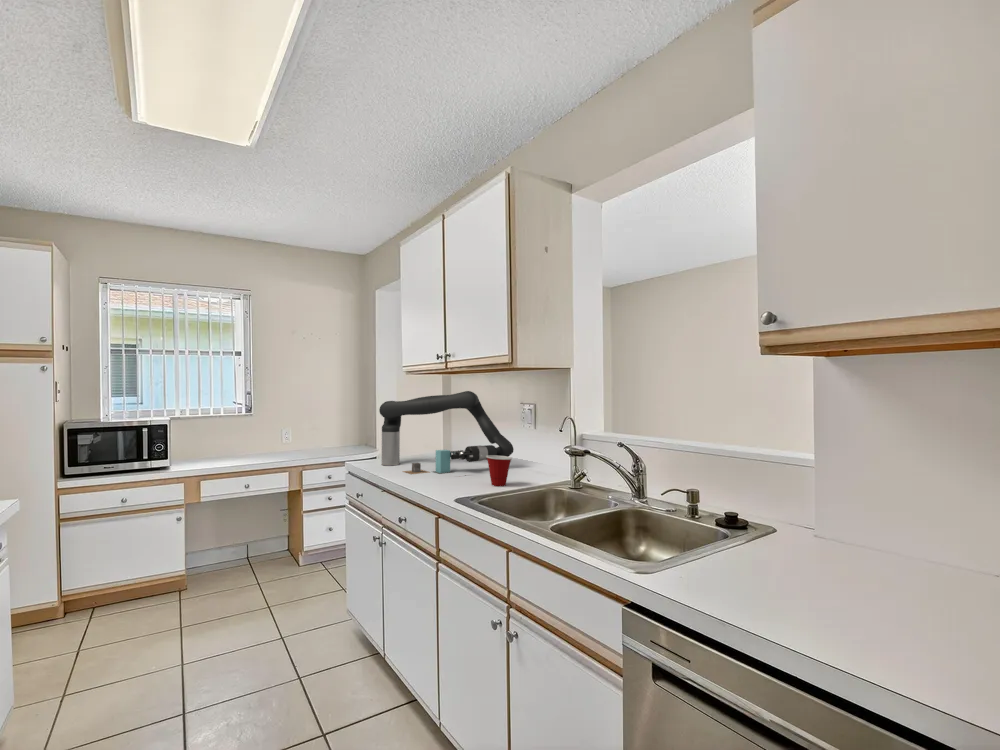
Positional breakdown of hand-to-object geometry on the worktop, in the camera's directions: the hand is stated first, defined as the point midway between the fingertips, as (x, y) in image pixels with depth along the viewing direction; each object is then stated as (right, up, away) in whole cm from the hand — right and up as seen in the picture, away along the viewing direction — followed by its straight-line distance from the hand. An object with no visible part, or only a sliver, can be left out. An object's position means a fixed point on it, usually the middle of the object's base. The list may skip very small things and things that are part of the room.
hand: (446, 456), depth 242 cm
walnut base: (-14, -8, -1) cm, 16 cm away
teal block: (-2, -7, -1) cm, 7 cm away
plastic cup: (+25, -8, -29) cm, 39 cm away
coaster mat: (-2, -8, -1) cm, 8 cm away
